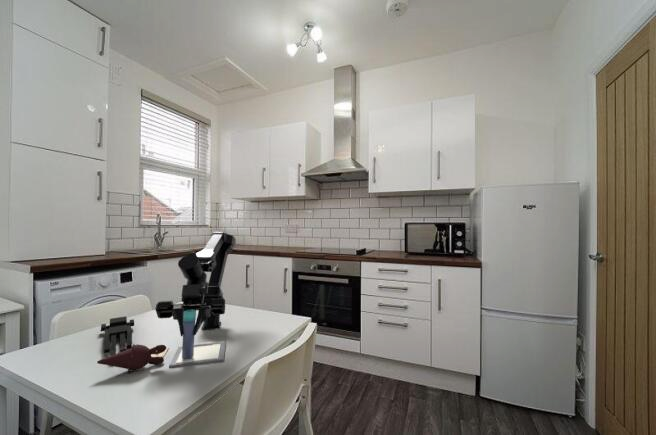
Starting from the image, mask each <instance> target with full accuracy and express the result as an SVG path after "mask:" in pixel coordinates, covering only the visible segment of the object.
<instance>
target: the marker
mask: <svg viewBox="0 0 656 435" xmlns="http://www.w3.org/2000/svg"><path fill="white" fill-rule="evenodd" d="M196 320H197V310H186V311H184V316H183V321H184V324H183V336H182V346H181V347H182V359H190V358H192V357H193V356H194V343H195V336H196V335H194V328H195V324H196Z"/></svg>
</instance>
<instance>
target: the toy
mask: <svg viewBox="0 0 656 435" xmlns="http://www.w3.org/2000/svg"><path fill="white" fill-rule="evenodd" d="M132 327H135V319H129V321H128V318H127V315H126V316H120V317H119V316H118V317H113V318H109V324H108V325H107V324H106V323H102V324H101V325H100V332H104V333H103V334H104V335H103V354H104V355H105V354H106V355H107V354H110V355H109V356H112V355H114V354H117V340H119V353H120V352H122V351H125V350H128V349H130V348H131V347H132V346H133V330H132Z"/></svg>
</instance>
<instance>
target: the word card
mask: <svg viewBox="0 0 656 435" xmlns="http://www.w3.org/2000/svg"><path fill="white" fill-rule="evenodd" d="M168 350H169V347H166V350H165V351H164V352H162V353H160V354H151V357H163V358H164V357H165V355H166V354H167V353H168Z"/></svg>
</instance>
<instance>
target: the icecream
mask: <svg viewBox="0 0 656 435" xmlns="http://www.w3.org/2000/svg"><path fill="white" fill-rule="evenodd" d="M166 348H167V346H166V345H165V344H158V345H155V346H153V347H151V348H149V347H148V346H146V345H143V344H135V343H132V347H131V348H130V349H127V350H125V351H122V352H120V351H119V352H116V354H114V355H112V356H110V355H109V356H107V357H105V358H102V359H98V361H97V364H98V365H104V366H108V367H109V366H110V367H115V368H120V369H126V370H127V374H129V373H131V371H132V372H134V371H139V370H141V369H142V368H144V367H145V366H147V364H149V365H154V366H157V365H161V364H163V363H164V362H165V358H164V357H151V354H160V353H162V352H164V351H165V350H166Z"/></svg>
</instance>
